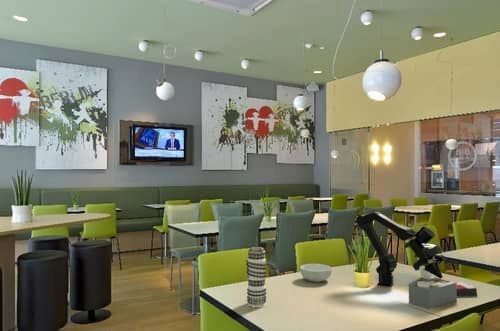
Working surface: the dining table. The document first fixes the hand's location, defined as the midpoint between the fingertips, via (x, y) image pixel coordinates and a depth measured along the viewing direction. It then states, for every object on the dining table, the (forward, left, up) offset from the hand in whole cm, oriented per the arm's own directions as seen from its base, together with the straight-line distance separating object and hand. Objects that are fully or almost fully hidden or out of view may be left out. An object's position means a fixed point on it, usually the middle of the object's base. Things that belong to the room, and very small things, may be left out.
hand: (441, 277), depth 180 cm
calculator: (+3, +14, -10) cm, 17 cm away
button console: (-2, -7, -9) cm, 12 cm away
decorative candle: (-64, -57, -10) cm, 86 cm away
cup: (-15, +34, -10) cm, 39 cm away
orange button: (0, 0, -5) cm, 5 cm away
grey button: (-5, -13, -3) cm, 14 cm away
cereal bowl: (-61, -6, -10) cm, 63 cm away
